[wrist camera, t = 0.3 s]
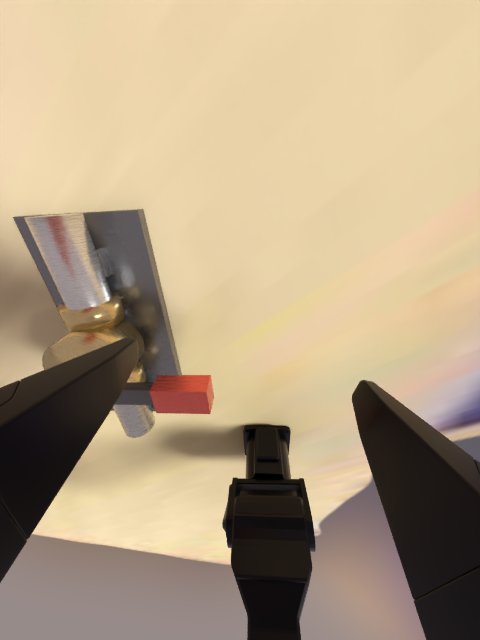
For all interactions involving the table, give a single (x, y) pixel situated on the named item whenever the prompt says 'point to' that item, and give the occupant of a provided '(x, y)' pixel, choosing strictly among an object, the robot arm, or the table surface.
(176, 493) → the table surface
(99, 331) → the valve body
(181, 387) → the valve lever
